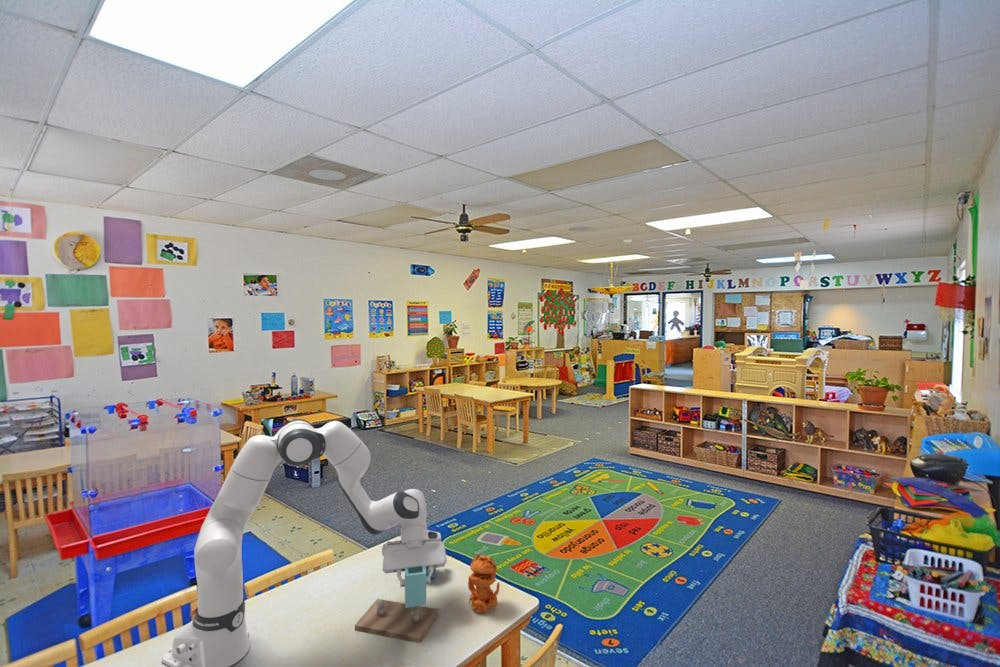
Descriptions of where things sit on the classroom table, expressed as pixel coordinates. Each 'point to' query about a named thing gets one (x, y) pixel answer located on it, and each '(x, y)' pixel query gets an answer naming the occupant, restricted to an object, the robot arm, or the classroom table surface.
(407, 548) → the robot arm
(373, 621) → the pin plate
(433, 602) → the classroom table surface
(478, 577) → the orange animal figurine
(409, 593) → the sleeve block
